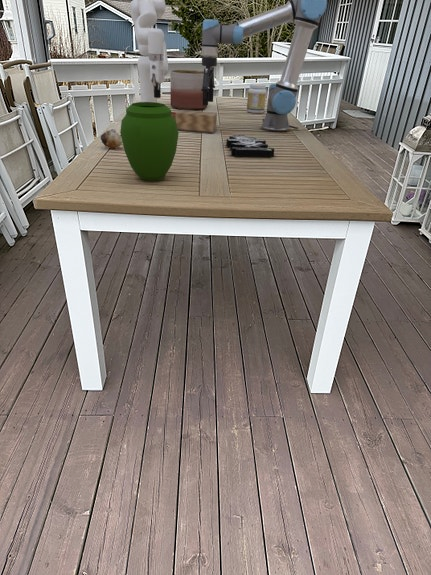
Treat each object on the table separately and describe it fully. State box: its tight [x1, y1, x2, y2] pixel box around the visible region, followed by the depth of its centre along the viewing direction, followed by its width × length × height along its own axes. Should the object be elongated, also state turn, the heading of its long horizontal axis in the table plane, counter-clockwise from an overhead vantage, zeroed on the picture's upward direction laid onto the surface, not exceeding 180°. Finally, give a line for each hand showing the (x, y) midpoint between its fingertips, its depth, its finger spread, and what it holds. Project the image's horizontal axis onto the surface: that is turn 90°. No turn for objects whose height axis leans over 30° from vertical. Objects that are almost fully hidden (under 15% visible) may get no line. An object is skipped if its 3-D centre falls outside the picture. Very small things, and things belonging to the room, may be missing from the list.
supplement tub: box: [246, 83, 267, 114], centre depth 274 cm, size 12×12×17 cm
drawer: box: [171, 111, 177, 120], centre depth 220 cm, size 24×10×7 cm, turn 80°
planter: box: [170, 69, 208, 111], centre depth 276 cm, size 25×25×22 cm
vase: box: [119, 101, 179, 182], centre depth 140 cm, size 20×20×24 cm
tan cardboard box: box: [175, 109, 218, 135], centre depth 218 cm, size 20×11×9 cm, turn 80°
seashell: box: [100, 128, 123, 149], centre depth 178 cm, size 10×6×8 cm, turn 91°
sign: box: [225, 134, 275, 158], centre depth 189 cm, size 19×3×30 cm
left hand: (157, 97), depth 215 cm, fingers closed
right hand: (207, 103), depth 212 cm, fingers open, 13 cm apart
